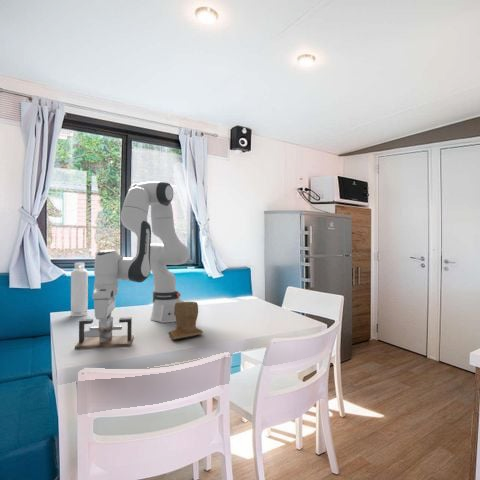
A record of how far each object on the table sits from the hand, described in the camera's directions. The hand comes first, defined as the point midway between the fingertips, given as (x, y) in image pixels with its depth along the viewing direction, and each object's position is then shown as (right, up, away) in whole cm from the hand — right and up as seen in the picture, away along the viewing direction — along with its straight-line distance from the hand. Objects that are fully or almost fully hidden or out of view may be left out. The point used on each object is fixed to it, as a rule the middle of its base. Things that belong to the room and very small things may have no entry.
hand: (105, 325), depth 131 cm
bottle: (-33, -6, +45) cm, 56 cm away
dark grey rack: (0, -7, 0) cm, 7 cm away
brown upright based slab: (+30, -8, +10) cm, 32 cm away
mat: (-9, -7, +10) cm, 16 cm away
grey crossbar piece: (0, -2, 0) cm, 2 cm away
